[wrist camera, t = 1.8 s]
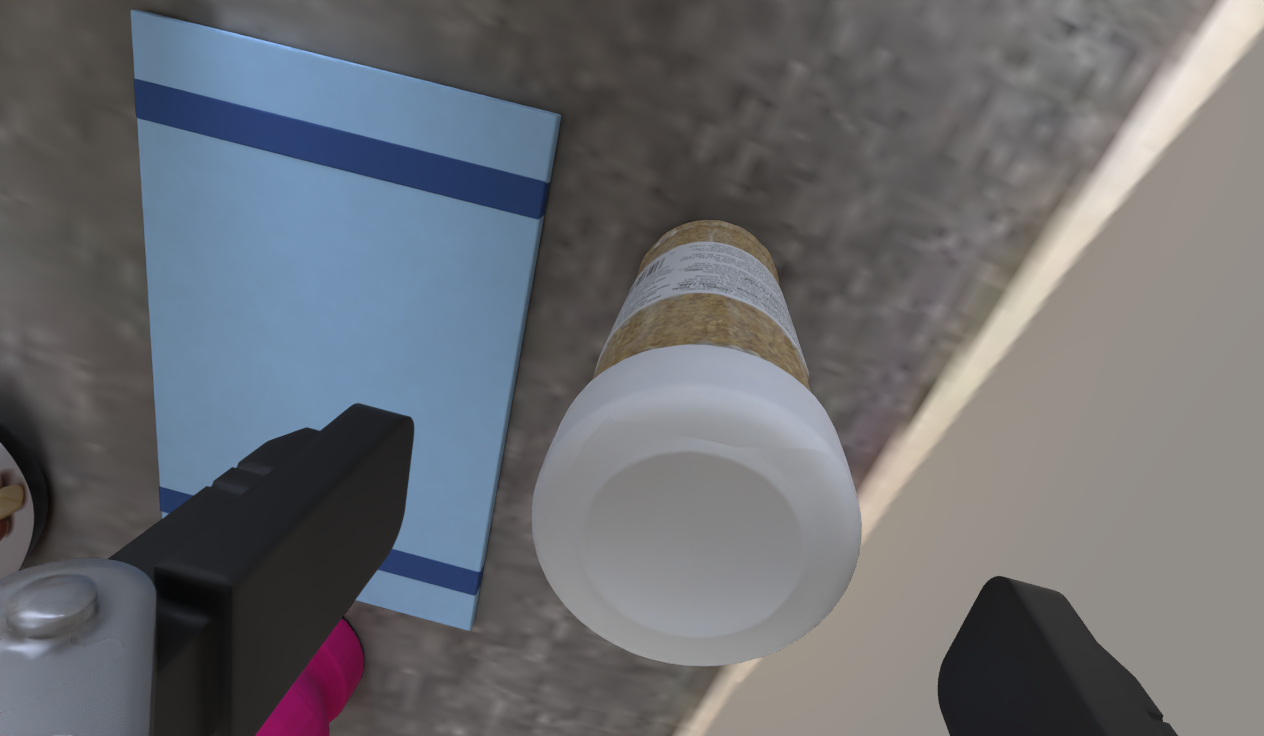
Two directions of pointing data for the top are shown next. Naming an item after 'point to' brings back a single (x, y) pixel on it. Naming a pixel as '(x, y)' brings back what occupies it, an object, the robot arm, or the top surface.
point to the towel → (338, 275)
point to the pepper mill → (319, 688)
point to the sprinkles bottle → (699, 467)
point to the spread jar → (19, 502)
